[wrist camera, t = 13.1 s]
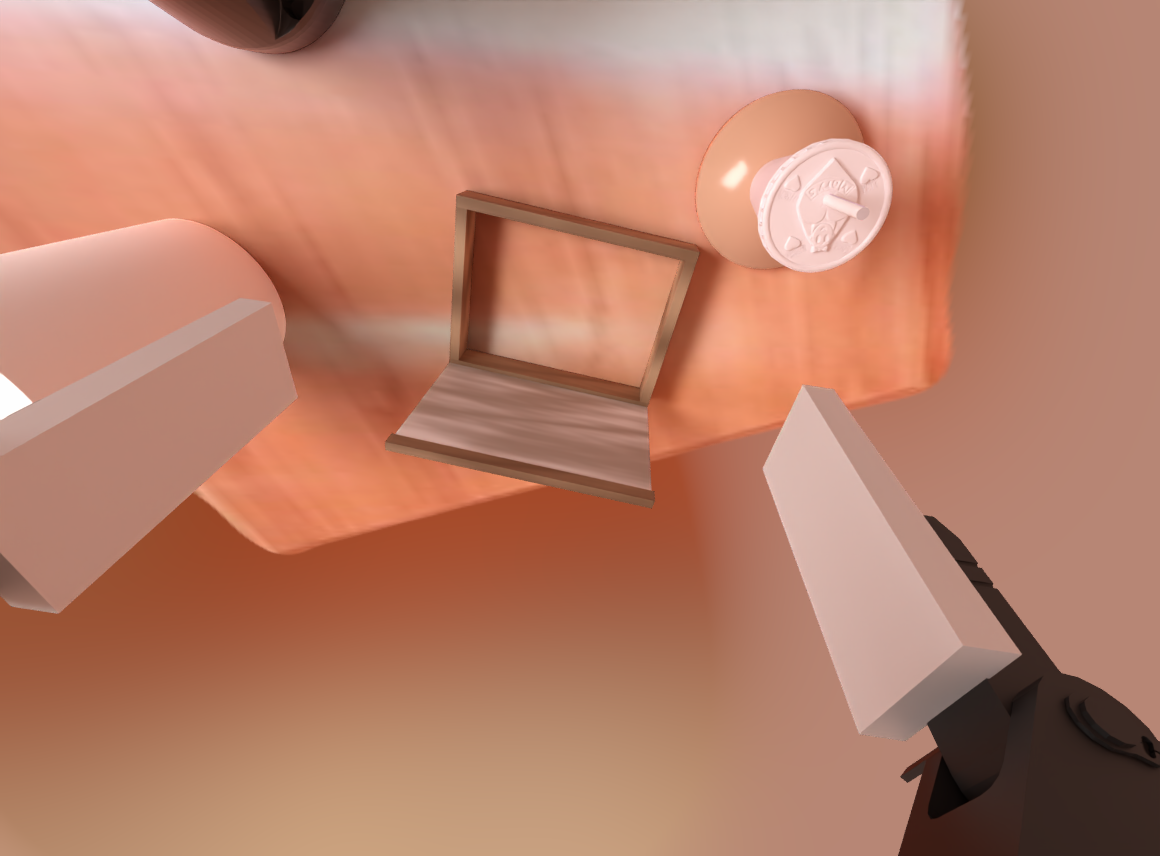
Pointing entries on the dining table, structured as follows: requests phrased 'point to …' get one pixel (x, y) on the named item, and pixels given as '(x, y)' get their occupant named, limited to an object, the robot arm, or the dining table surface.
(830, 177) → the smoothie
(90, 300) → the canister
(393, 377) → the dining table surface
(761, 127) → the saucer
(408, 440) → the box
